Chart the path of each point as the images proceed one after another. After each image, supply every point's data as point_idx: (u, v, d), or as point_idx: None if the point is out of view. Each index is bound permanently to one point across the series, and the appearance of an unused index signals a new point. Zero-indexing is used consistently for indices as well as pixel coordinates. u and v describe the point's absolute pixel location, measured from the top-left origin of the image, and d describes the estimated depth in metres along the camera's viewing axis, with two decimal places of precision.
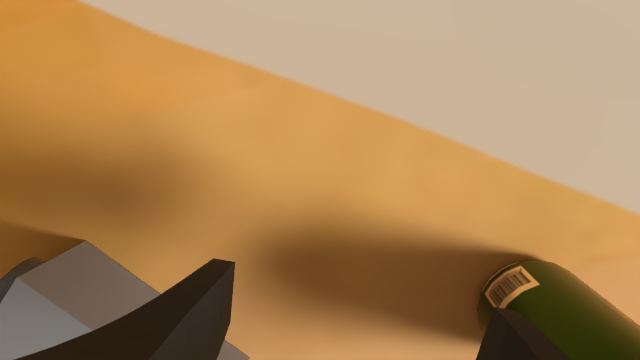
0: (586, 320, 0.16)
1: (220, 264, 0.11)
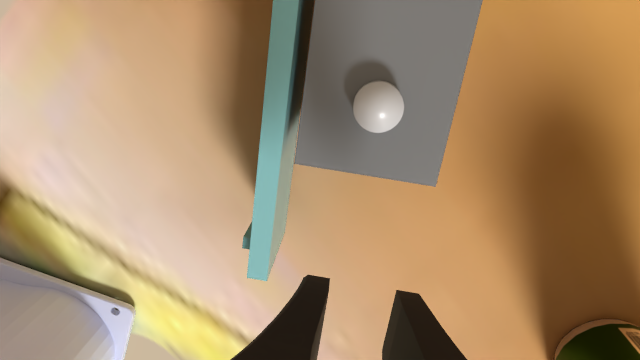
0: None
1: (318, 281, 0.11)
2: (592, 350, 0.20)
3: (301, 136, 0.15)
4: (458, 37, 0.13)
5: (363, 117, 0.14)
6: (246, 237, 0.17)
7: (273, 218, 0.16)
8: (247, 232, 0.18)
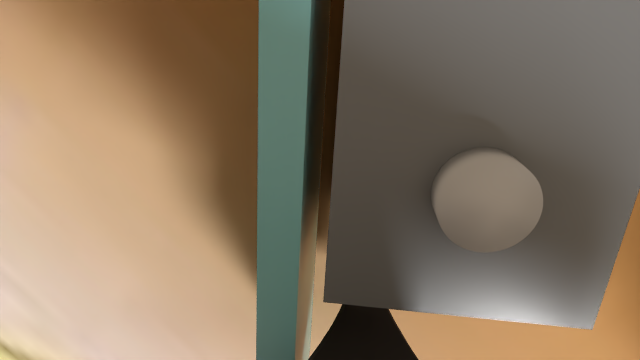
0: None
1: None
2: None
3: (333, 255, 0.08)
4: None
5: (458, 225, 0.07)
6: None
7: None
8: None
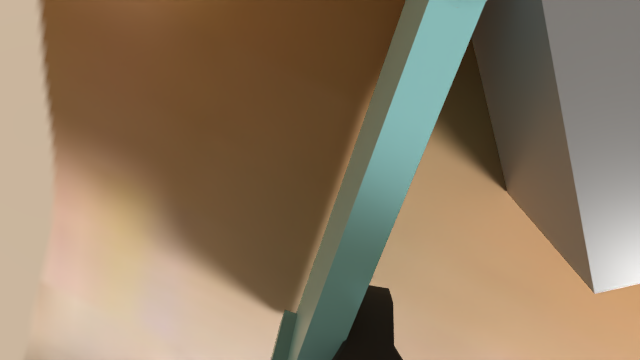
0: None
1: (379, 291, 0.11)
2: None
3: (592, 243, 0.08)
4: None
5: None
6: None
7: None
8: None
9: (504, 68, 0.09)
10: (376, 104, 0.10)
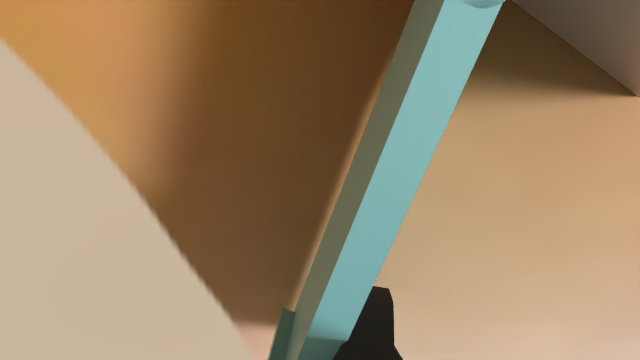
0: None
1: (379, 291, 0.11)
2: None
3: None
4: None
5: None
6: None
7: None
8: None
9: (561, 4, 0.09)
10: (383, 103, 0.09)
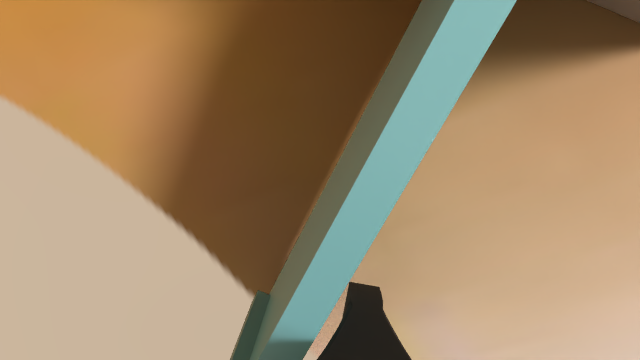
0: None
1: (369, 290, 0.11)
2: None
3: None
4: None
5: None
6: None
7: None
8: (235, 357, 0.10)
9: None
10: (385, 89, 0.09)
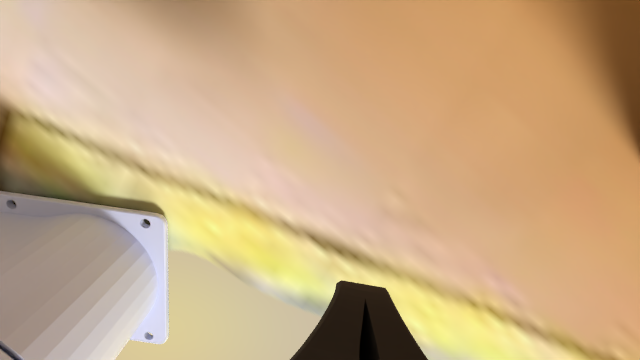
0: None
1: (353, 287, 0.11)
2: None
3: None
4: None
5: None
6: None
7: None
8: None
9: None
10: None
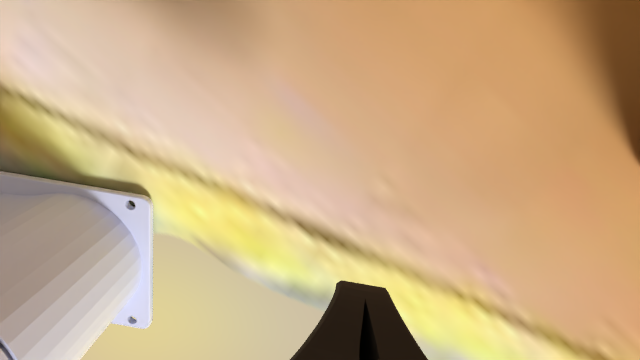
0: None
1: (352, 287, 0.11)
2: None
3: None
4: None
5: None
6: None
7: None
8: None
9: None
10: None
